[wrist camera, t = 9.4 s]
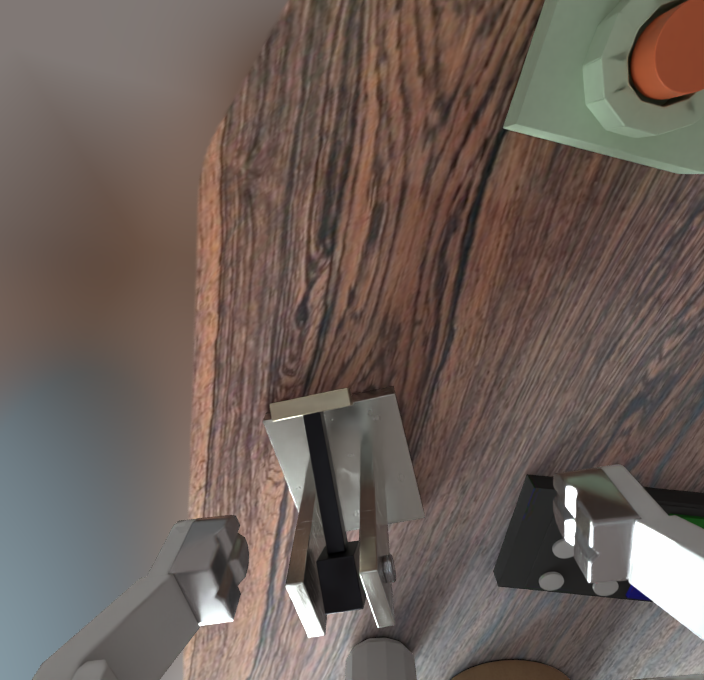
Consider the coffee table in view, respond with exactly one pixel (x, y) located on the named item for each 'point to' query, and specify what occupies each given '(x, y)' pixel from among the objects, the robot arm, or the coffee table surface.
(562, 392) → the coffee table surface
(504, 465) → the coffee table surface
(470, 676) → the vase
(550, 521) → the remote control
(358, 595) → the lever
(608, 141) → the button box
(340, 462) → the bracket
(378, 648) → the water bottle
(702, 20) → the button
